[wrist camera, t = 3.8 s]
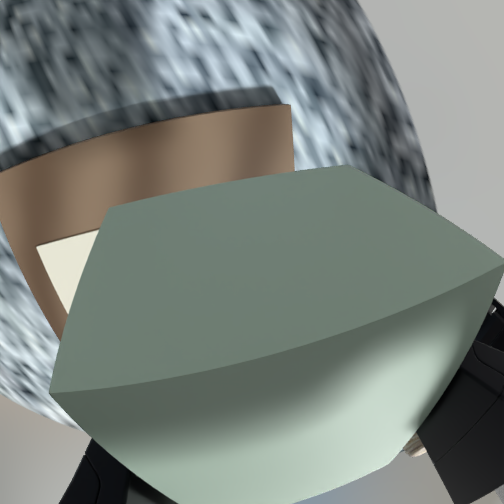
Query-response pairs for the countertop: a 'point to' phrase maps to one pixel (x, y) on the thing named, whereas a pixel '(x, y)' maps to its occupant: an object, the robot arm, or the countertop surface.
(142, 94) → the countertop surface
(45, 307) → the board
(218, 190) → the green block
